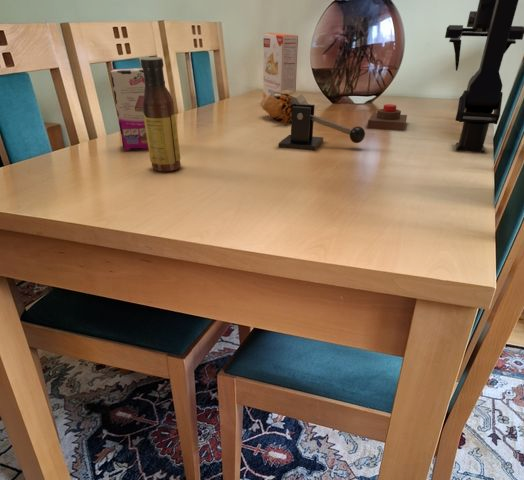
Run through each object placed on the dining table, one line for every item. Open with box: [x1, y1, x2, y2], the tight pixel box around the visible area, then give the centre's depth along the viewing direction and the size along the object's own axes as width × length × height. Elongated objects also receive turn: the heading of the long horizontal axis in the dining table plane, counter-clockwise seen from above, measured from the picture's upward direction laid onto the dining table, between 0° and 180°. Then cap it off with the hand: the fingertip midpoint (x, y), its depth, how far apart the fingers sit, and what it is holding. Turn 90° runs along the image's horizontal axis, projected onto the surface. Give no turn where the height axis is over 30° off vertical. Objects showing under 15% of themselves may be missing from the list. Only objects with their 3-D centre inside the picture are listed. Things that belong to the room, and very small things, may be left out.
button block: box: [366, 108, 408, 132], centre depth 134 cm, size 12×10×4 cm
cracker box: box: [262, 32, 299, 100], centre depth 153 cm, size 14×6×21 cm, turn 25°
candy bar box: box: [109, 67, 149, 152], centre depth 107 cm, size 11×5×16 cm, turn 105°
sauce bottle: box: [140, 56, 181, 173], centre depth 91 cm, size 7×6×20 cm
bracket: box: [278, 103, 324, 152], centre depth 112 cm, size 9×10×9 cm
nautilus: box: [260, 89, 309, 126], centre depth 137 cm, size 8×22×15 cm
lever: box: [300, 106, 366, 144], centre depth 110 cm, size 17×4×4 cm, turn 72°
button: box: [382, 103, 397, 112], centre depth 132 cm, size 4×4×2 cm
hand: (474, 71), depth 124 cm, fingers open, 9 cm apart
